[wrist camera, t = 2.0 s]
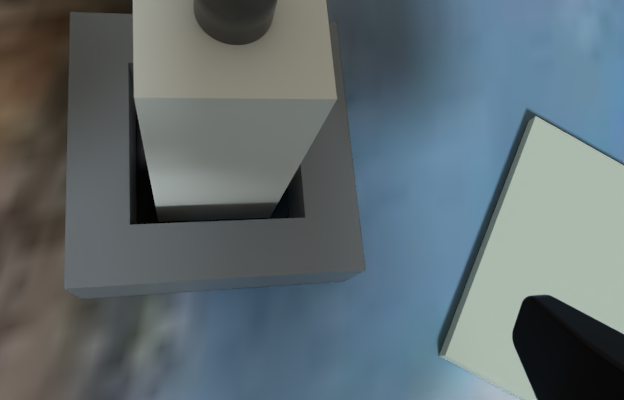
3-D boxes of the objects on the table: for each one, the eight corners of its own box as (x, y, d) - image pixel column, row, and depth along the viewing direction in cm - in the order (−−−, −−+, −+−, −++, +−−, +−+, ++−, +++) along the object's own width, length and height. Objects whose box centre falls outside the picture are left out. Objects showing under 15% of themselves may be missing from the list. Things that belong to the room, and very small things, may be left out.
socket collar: (343, 281, 23) (365, 269, 20) (80, 299, 21) (64, 288, 18) (320, 59, 26) (336, 21, 23) (84, 54, 23) (70, 11, 21)
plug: (270, 217, 23) (355, 66, 11) (158, 221, 22) (126, 61, 10) (262, 117, 24) (333, -113, 13) (155, 117, 23) (124, -133, 12)
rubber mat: (688, 487, 24) (700, 490, 23) (438, 355, 23) (445, 355, 22) (739, 239, 28) (750, 237, 27) (528, 121, 27) (535, 116, 27)
